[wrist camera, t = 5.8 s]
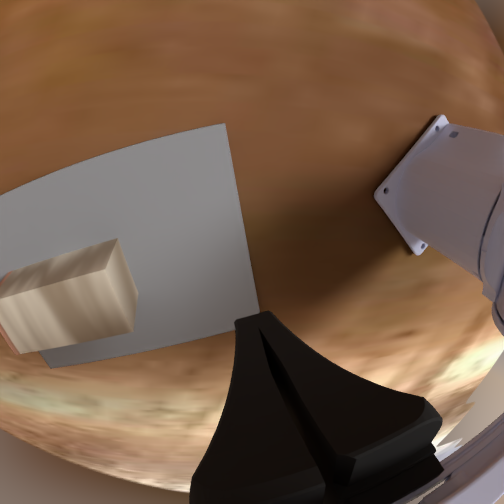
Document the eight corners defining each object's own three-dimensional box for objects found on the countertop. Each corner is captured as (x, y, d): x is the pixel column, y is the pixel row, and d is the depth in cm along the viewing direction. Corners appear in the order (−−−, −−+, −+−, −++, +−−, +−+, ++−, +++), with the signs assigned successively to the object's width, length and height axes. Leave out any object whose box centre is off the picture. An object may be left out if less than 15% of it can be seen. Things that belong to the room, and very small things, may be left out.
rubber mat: (223, 123, 16) (224, 123, 16) (260, 318, 23) (261, 322, 22) (-27, 209, 14) (-31, 211, 14) (51, 364, 20) (50, 368, 20)
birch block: (105, 269, 14) (-17, 303, 12) (133, 331, 16) (15, 354, 14) (117, 237, 17) (8, 272, 16) (138, 293, 19) (32, 318, 18)
